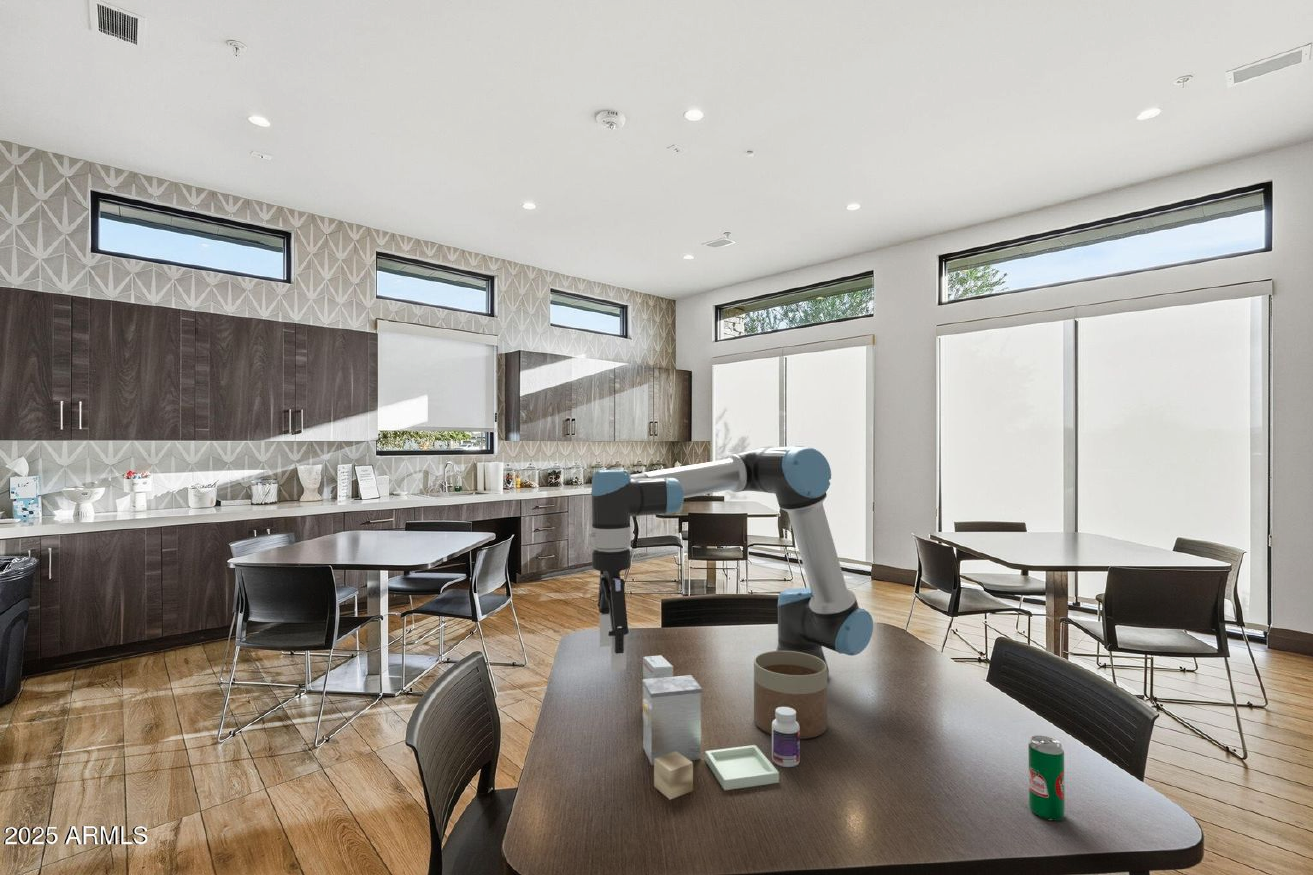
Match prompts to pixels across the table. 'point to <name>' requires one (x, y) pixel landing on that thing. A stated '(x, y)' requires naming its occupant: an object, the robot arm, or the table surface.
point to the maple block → (673, 775)
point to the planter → (791, 690)
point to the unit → (672, 717)
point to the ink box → (656, 668)
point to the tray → (741, 767)
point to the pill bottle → (785, 738)
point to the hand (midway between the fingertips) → (612, 656)
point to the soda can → (1046, 777)
